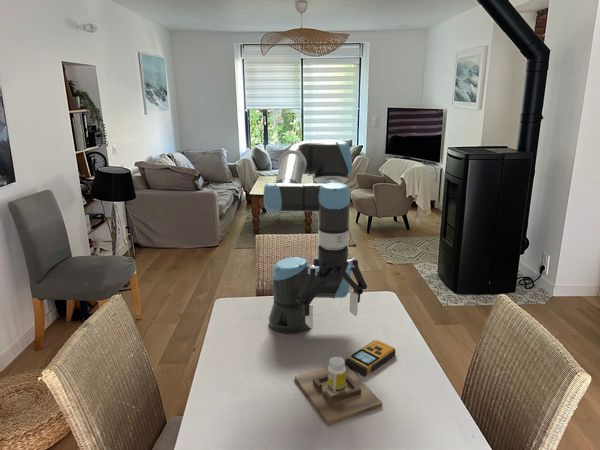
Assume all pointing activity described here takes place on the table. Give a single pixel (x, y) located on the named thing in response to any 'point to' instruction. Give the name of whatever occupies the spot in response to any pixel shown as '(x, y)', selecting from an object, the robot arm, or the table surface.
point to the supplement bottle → (336, 375)
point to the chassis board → (337, 395)
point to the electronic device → (370, 357)
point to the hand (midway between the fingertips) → (331, 319)
